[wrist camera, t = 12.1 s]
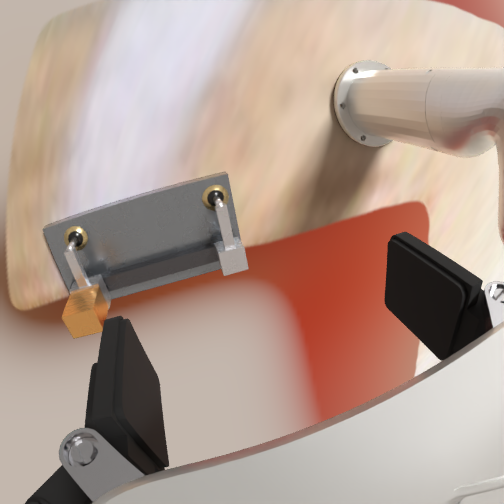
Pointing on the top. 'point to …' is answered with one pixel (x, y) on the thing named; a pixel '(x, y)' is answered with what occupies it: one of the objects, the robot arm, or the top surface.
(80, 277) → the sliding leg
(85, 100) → the top surface
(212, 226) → the base
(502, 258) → the top surface
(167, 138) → the top surface
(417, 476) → the robot arm
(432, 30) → the top surface
